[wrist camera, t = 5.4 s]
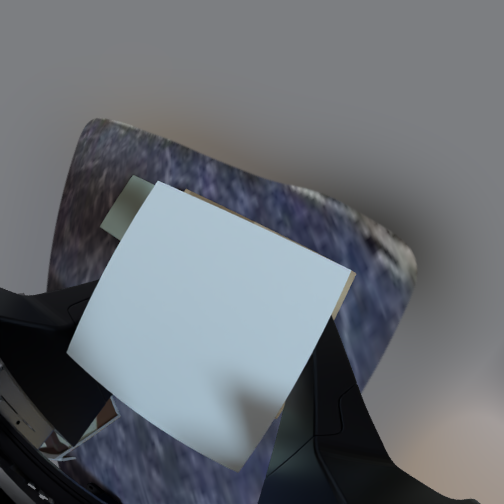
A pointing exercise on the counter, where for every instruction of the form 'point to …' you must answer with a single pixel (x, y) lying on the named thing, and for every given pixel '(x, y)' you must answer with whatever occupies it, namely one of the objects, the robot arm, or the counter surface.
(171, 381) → the tall white block
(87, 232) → the counter surface
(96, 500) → the robot arm
